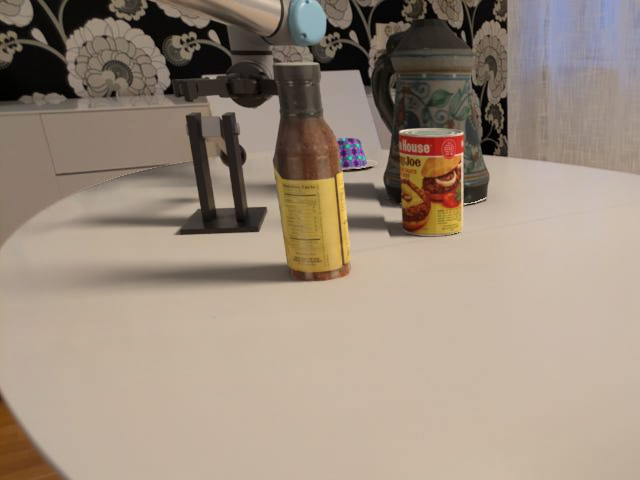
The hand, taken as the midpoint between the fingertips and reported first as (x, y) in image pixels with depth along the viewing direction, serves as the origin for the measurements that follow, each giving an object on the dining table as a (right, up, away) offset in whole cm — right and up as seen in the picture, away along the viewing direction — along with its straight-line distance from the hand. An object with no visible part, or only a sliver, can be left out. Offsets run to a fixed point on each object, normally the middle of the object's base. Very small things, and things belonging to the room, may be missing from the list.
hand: (234, 90), depth 100 cm
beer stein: (+29, -15, +6) cm, 33 cm away
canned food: (+31, -24, -14) cm, 41 cm away
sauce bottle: (+21, -32, -33) cm, 51 cm away
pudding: (+11, -2, +32) cm, 34 cm away
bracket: (+4, -23, -14) cm, 27 cm away
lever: (+3, -14, -12) cm, 18 cm away
